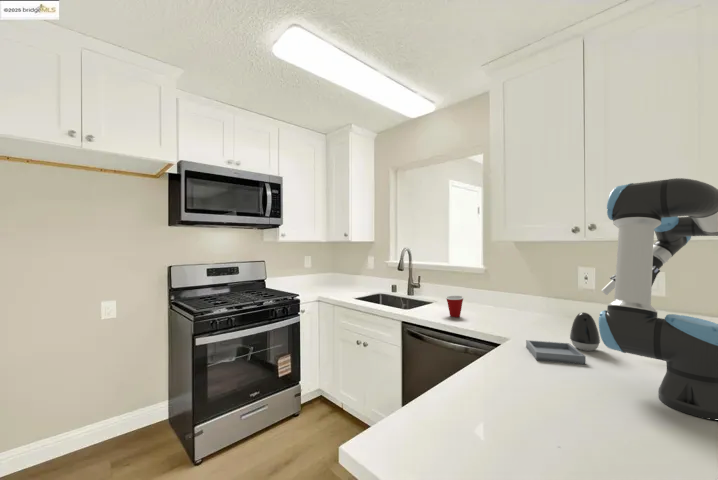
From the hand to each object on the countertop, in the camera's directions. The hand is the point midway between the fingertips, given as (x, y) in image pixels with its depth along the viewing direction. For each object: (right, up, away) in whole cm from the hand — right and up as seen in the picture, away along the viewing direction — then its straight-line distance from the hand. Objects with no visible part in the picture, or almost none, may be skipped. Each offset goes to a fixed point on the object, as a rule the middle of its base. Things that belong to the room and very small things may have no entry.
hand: (614, 295), depth 132 cm
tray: (-30, -22, -7) cm, 38 cm away
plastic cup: (-48, -24, +62) cm, 82 cm away
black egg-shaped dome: (-12, -23, 0) cm, 26 cm away
